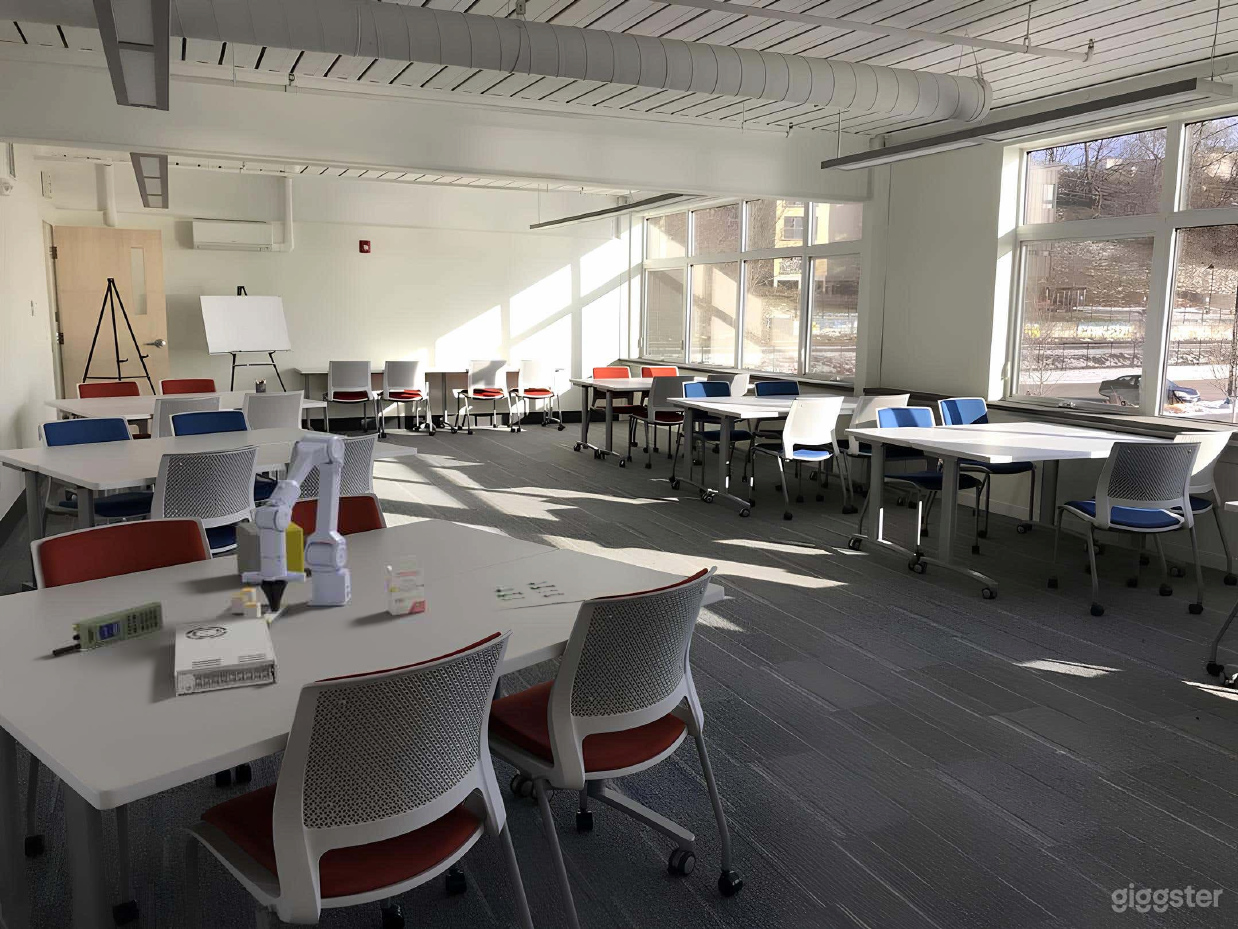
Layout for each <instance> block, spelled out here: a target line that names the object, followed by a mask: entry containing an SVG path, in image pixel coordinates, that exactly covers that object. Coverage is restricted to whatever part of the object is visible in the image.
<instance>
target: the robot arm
mask: <svg viewBox="0 0 1238 929" xmlns="http://www.w3.org/2000/svg"><path fill="white" fill-rule="evenodd" d="M300 437H301V438H300V439H299V440H298V441H299V442H298V443H297V446H296V448H297V449H296V450H297V451H296V452H297V457H296V458H295V459H294V463H293V465H292V466H291V469H290V470H289V473H288V475H287V477H286V478H285V480H281V481H278V483H277V485H276V486H275V488H274V490H273V492H272V494H271V495H270V496H269V498H268V500H267V501H266V504H265V505H262V506H261V507H259V508H257V510H256V511H255V514H254V518H253V522H254V524H255V527H256V528H257V532H258V536H259V537H260V550H261V571H260V572H245V573H243V574H242V576H241V582H242V583H248V582H247V581H262V584H260V589H261V591H262V593H264V595H265V597H266V599H267V601H268V604H269V605H270V608H271V612H277V611H279V609H280V603H281V601H282V598H283V595H284V593H285V589H286V587H287V586H288V583H291V582H297V583H305V582H306V581H307V572H304V573H300V572H291V571H287V565H286V534H285V530H286V529H287V527H288V526H289V525H290V521H291V520H292V519H291V518H292V514H293V507H294V506H295V504H297V501H298V499H299V497H300V496H301V494H302V491H301V488H300V486H301V485H302V483H304V480H305V479H306V477H307V476H308V475H309V474H310V473H311V470H312V469H313V468H314V467H316V469H317V470H318V471H319V479H318V490H317V491H318V493H317V507H316V520H315V524H316V525H315V531H314V532H312V533H313V534H312V533H311V534H312V535H310V534H309V535H310V536H309V537H308V538H307V544H306V547H305V550H304V555H303V556H304V564H305V565H307V566H308V569H309V570H310V571H311V596H312V598H311V599H310V600H309V601H308V603H307V606H345V605H346V604H347V603H348V602H349V600H350V599H351V598H352V595H351V574H350V569H349V568H344V566H345V565H346V563H347V559H348V551H347V546H346V544H347V543H346V542H347V540H346V539H345V538H344V537H343V536H342V535H341V534H340V533H339V532H338V531H337V530H338V521H339V520H338V518H339V502H340V491H341V490H340V487H341V475H342V474H341V472H342V468H343V466H344V462H345V461H344V460H345V446H346V445H345V443H344V442H343V440H342V438H341V437H340V436H338V435H325V434H324V435H323V434H322V435H320V434H309V433H304V434H303V435H302V436H300ZM291 522H292V521H291ZM320 542H326V543H331V544H325V543H320Z"/></svg>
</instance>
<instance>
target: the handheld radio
mask: <svg viewBox="0 0 1238 929" xmlns="http://www.w3.org/2000/svg"><path fill="white" fill-rule="evenodd" d="M163 618H164V617H163V608H162V601H152V602H150V603H149V602H148V603H146V604H142V605H137V606H133V607H129V608H126V609H122V610H117V611H115V612H109V613H106V614H103V615H98V616H95V617H91V618H86V619H83V620H79V621H76V622H73V623H71V625H73V626H74V625H75V626H74V627H72V631H73V632H76V634H73V636H72V640H73V641H76V642H77V643H75V644H73V645H68V646H65V647H62V648H61V647H60V648H57V649H53V650H52V651H51V652H52V655H53V656H54V657H56V656H59V655H63V654H67V653H70V652H74V651H75V650H76V651H79V650H78V649H89V648H93V647H96V646H100V647H102V646H101V645H104V644H107V645H109V644H108V643H111V644H113V643H112V642H114V643H116V642H115V641H118V642H120V641H119V640H121V641H124V640H123V639H125V638H128V639H131V638H130V637H132V638H135V637H139V636H142V635H147V634H149V633H152V632H155V630H156V631H159V629H160V630H163V629H164V619H163ZM141 634H142V635H141ZM134 636H135V637H134ZM125 640H126V639H125ZM104 646H105V645H104ZM93 649H94V648H93Z"/></svg>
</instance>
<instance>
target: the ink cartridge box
mask: <svg viewBox="0 0 1238 929" xmlns="http://www.w3.org/2000/svg"><path fill="white" fill-rule="evenodd" d="M407 561H408V562H409V563H403V562H407ZM410 562H411V563H410ZM390 564H391V565H388V566H386V587H387V591H386V592H387V594H386V595H387V610H388V612H389V613H390V614H391V615H392V616H397V615H405V614H412V613H413V614H414V613H422V612H425V611H426V607H425V606H426V602H425V598H426V596H425V594H426V593H425V569H424V568H425V567H424V560H423V555H412V556H401V557H392V558H391V559H390Z"/></svg>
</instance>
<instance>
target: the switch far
mask: <svg viewBox="0 0 1238 929" xmlns="http://www.w3.org/2000/svg"><path fill="white" fill-rule="evenodd" d="M239 595H246V596H248V602H257V591H256V588H254V587H252V588H251V587H244V588H243V589H241V591H240V592H239Z"/></svg>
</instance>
